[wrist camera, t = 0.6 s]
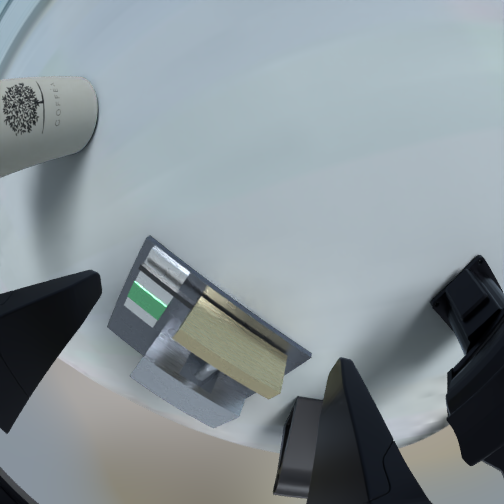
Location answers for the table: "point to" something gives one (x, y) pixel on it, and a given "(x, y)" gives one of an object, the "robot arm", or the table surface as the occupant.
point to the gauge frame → (175, 355)
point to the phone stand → (298, 449)
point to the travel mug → (44, 119)
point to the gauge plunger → (225, 344)
